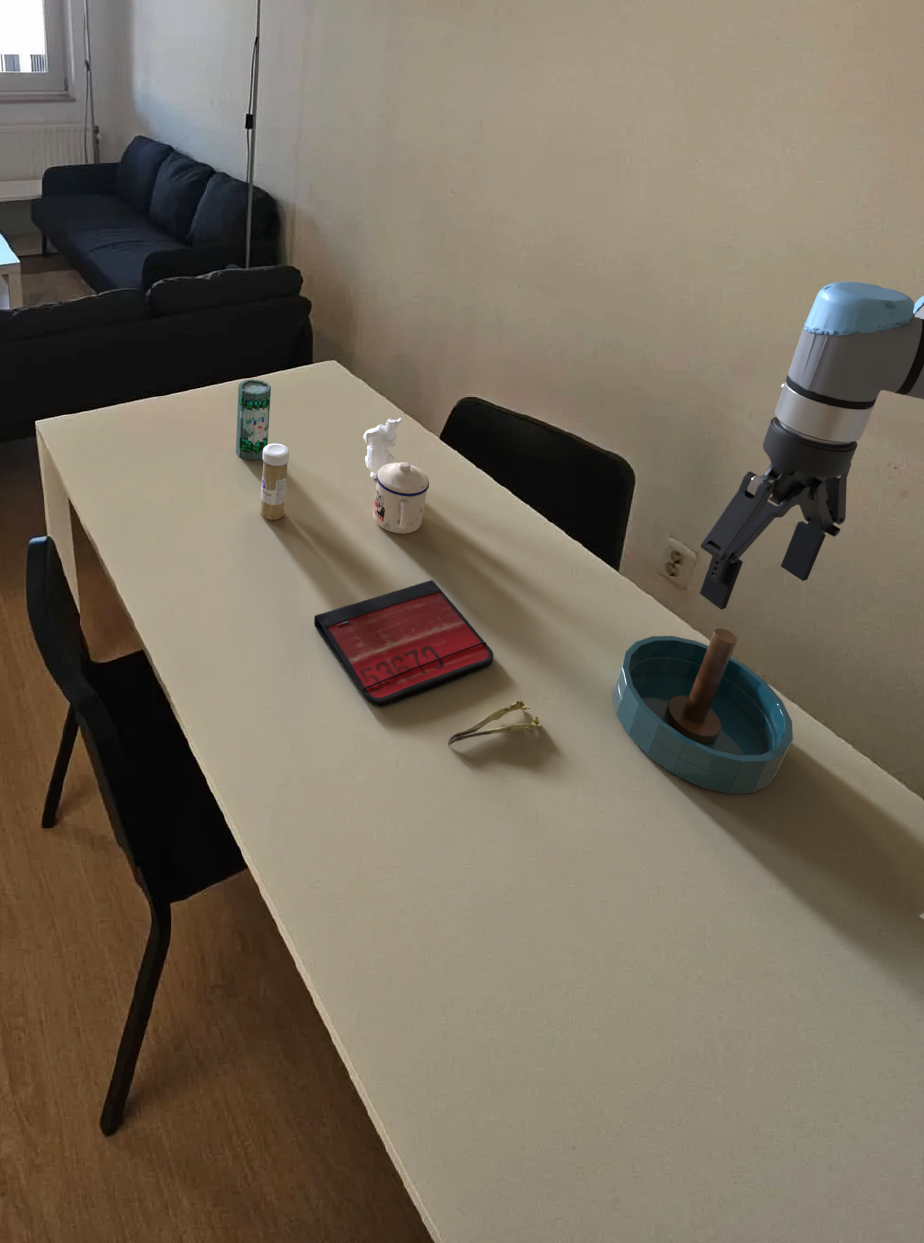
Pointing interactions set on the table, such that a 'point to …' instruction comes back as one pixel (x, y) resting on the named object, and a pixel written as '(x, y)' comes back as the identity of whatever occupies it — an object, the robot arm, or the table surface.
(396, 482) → the teacup with lid
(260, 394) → the can
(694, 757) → the bowl
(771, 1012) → the table surface
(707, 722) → the plunger
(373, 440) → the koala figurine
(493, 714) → the jaw bone
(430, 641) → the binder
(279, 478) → the sprinkles bottle
